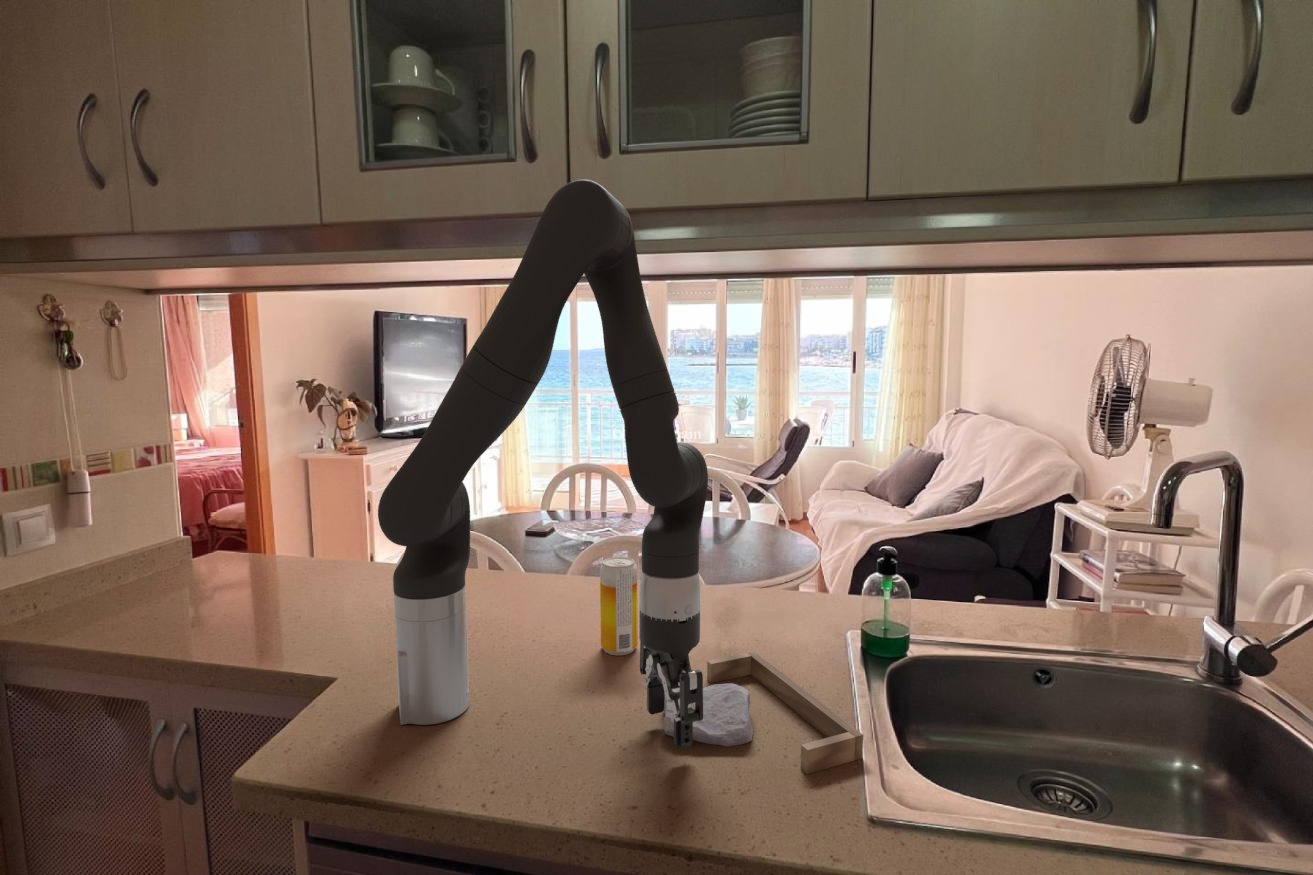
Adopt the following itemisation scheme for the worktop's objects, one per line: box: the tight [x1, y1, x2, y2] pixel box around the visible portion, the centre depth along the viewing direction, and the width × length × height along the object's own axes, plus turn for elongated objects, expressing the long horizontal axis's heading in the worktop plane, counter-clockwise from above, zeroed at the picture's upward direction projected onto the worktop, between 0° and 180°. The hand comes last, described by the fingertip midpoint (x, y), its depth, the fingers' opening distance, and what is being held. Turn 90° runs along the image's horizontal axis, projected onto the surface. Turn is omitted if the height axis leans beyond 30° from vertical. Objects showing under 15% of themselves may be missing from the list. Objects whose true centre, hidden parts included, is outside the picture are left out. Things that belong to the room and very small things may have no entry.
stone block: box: [663, 682, 754, 748], centre depth 88 cm, size 12×5×10 cm
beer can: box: [599, 556, 638, 656], centre depth 111 cm, size 6×6×15 cm
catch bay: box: [706, 651, 864, 775], centre depth 91 cm, size 8×25×3 cm, turn 23°
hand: (668, 728), depth 85 cm, fingers open, 8 cm apart
